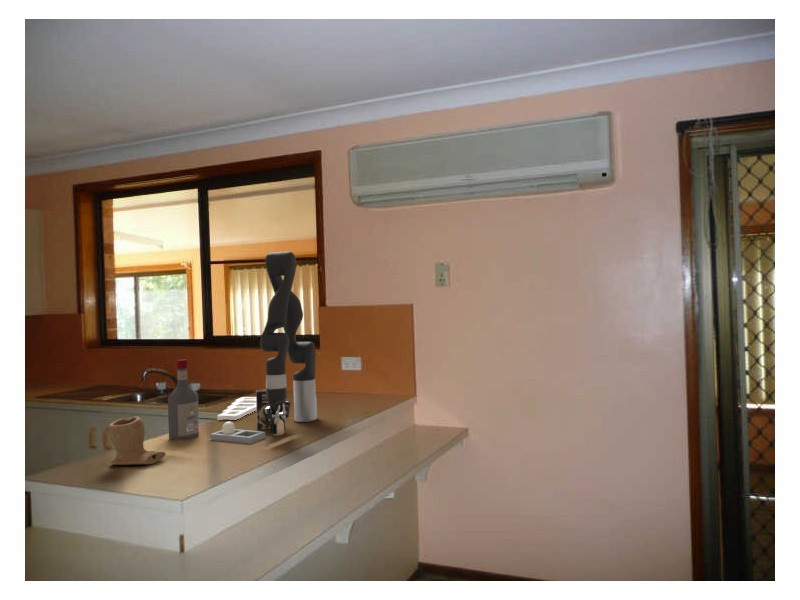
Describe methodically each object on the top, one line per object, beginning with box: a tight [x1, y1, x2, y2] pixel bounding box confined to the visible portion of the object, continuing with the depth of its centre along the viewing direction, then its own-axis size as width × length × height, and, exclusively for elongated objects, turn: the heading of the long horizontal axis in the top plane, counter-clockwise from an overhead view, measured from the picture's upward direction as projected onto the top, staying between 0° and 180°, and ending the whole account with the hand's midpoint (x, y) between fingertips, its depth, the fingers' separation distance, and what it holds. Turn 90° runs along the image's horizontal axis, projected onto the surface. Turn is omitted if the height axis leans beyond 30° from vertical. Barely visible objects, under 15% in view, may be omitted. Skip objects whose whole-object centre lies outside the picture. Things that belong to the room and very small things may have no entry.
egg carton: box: [208, 428, 268, 445], centre depth 206 cm, size 10×19×4 cm, turn 66°
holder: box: [217, 396, 256, 421], centre depth 269 cm, size 45×18×3 cm, turn 171°
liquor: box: [167, 359, 200, 441], centre depth 212 cm, size 9×9×30 cm
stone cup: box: [107, 415, 166, 466], centre depth 182 cm, size 15×12×15 cm
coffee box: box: [255, 388, 275, 431], centre depth 224 cm, size 9×6×16 cm
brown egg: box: [271, 418, 285, 436], centre depth 212 cm, size 4×4×6 cm
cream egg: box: [221, 421, 236, 435], centre depth 208 cm, size 4×4×6 cm
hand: (277, 431), depth 212 cm, fingers closed on brown egg, 4 cm apart
